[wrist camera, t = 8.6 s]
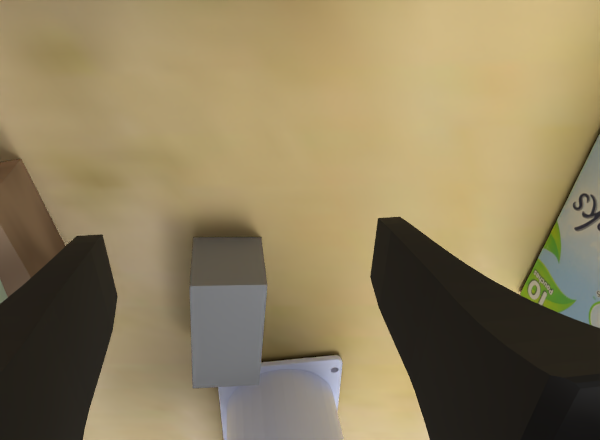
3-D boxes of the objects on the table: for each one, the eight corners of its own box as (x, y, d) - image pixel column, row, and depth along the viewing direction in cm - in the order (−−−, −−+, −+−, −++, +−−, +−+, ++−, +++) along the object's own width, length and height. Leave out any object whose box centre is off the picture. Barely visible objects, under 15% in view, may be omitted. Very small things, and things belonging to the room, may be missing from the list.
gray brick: (254, 330, 29) (259, 384, 26) (195, 332, 28) (192, 388, 25) (261, 235, 25) (267, 284, 22) (193, 235, 25) (189, 286, 21)
